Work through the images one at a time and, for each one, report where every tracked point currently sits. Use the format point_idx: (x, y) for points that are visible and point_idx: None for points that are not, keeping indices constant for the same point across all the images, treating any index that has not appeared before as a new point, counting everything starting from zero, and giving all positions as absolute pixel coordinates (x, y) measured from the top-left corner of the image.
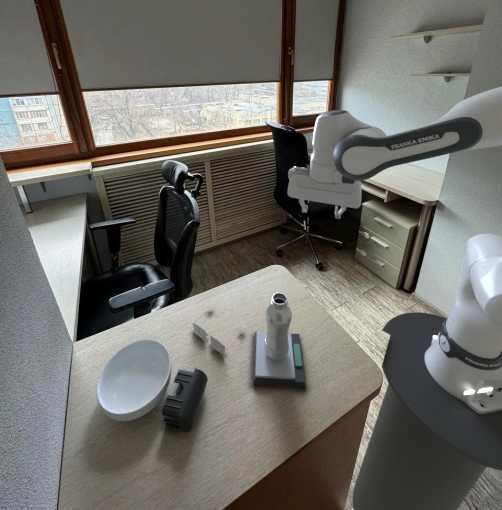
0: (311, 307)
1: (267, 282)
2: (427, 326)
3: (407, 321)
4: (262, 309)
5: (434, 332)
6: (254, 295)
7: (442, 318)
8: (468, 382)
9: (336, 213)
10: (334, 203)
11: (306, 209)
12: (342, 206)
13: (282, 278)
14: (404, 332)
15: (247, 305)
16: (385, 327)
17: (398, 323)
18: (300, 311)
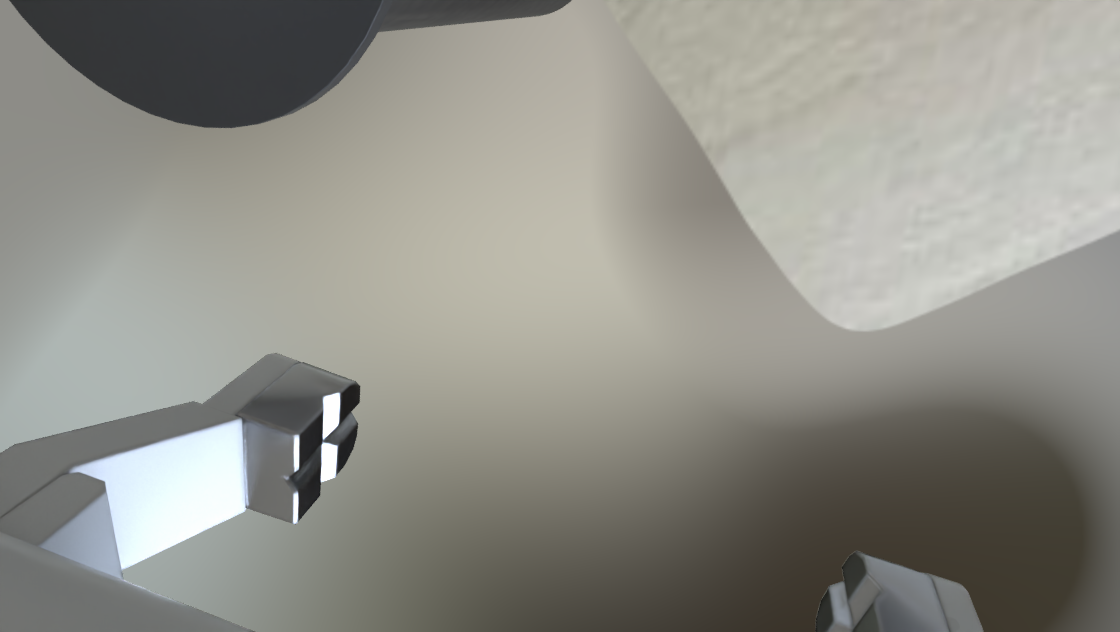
0: (695, 88)
1: (931, 243)
2: (208, 57)
3: (276, 72)
4: (1002, 36)
5: (187, 29)
6: (1039, 139)
7: (153, 106)
8: None
9: (283, 428)
10: (116, 629)
11: (888, 614)
12: (14, 524)
13: (831, 276)
14: (294, 10)
15: (1105, 54)
16: (364, 25)
17: (311, 56)
18: (761, 52)
